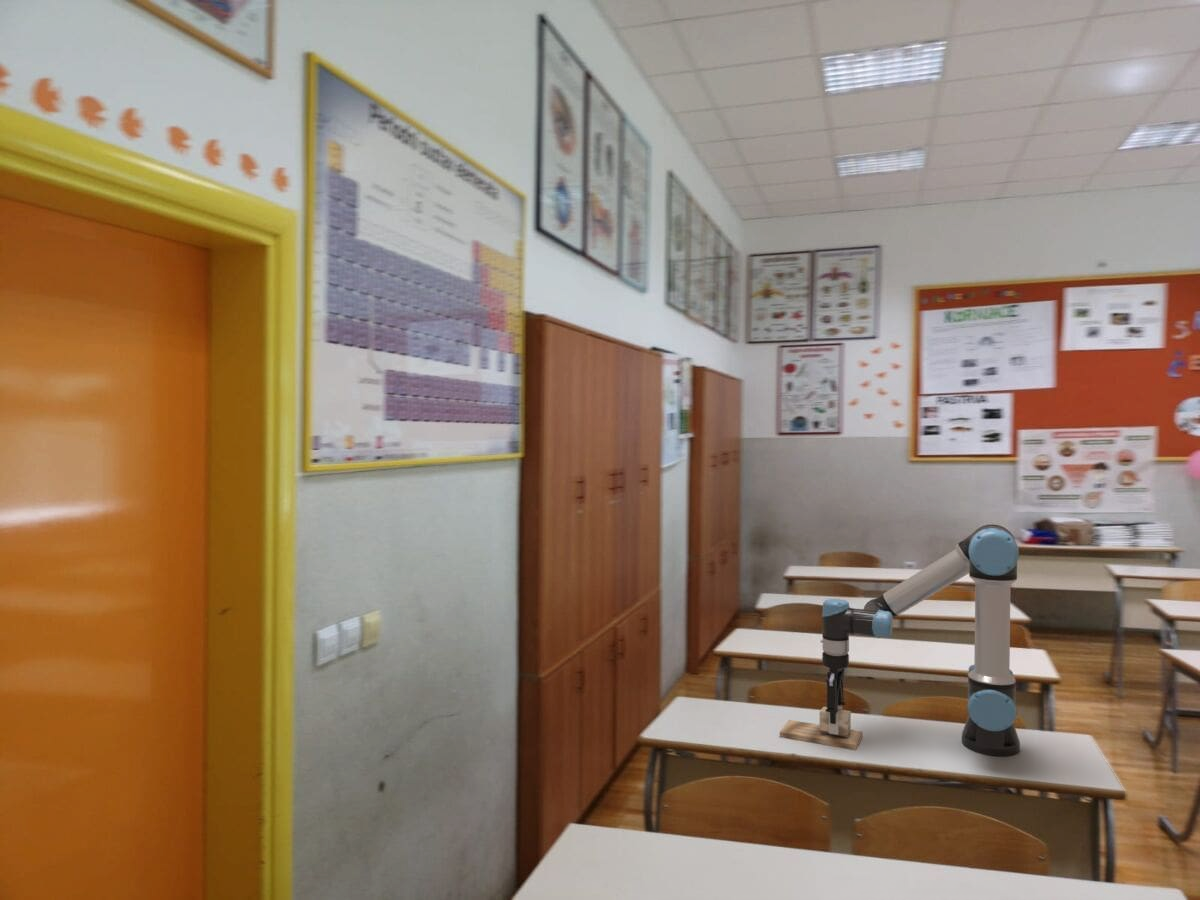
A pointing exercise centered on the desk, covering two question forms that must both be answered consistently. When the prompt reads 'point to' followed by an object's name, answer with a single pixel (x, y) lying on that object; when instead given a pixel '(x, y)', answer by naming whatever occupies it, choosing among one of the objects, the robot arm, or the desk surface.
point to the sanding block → (843, 722)
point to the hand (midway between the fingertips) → (835, 730)
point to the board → (819, 735)
